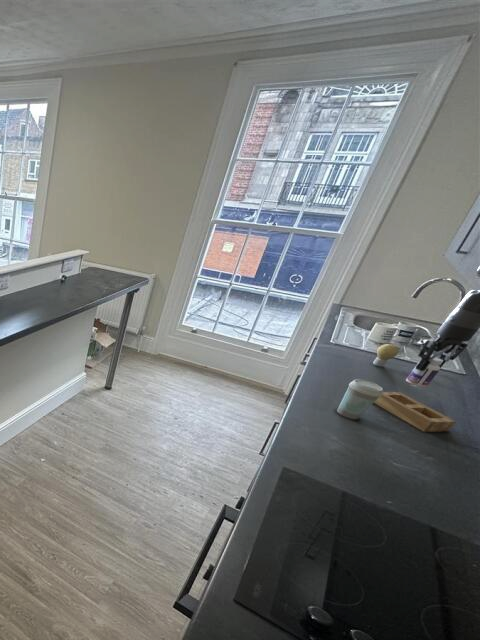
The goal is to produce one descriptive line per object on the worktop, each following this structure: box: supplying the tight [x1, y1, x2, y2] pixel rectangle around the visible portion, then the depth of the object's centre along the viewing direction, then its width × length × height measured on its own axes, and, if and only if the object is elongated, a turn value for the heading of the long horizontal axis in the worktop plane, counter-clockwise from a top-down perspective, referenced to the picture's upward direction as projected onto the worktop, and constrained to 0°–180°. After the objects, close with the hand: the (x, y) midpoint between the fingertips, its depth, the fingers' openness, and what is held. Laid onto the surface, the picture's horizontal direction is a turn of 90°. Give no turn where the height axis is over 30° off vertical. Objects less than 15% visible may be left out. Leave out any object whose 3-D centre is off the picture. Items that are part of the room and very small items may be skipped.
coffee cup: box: [336, 378, 384, 420], centre depth 134 cm, size 9×8×12 cm
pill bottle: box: [405, 355, 443, 388], centre depth 135 cm, size 5×5×10 cm
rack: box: [373, 391, 457, 433], centre depth 139 cm, size 10×18×4 cm, turn 8°
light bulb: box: [373, 343, 399, 368], centre depth 174 cm, size 6×6×10 cm
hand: (426, 369), depth 135 cm, fingers closed on pill bottle, 5 cm apart
